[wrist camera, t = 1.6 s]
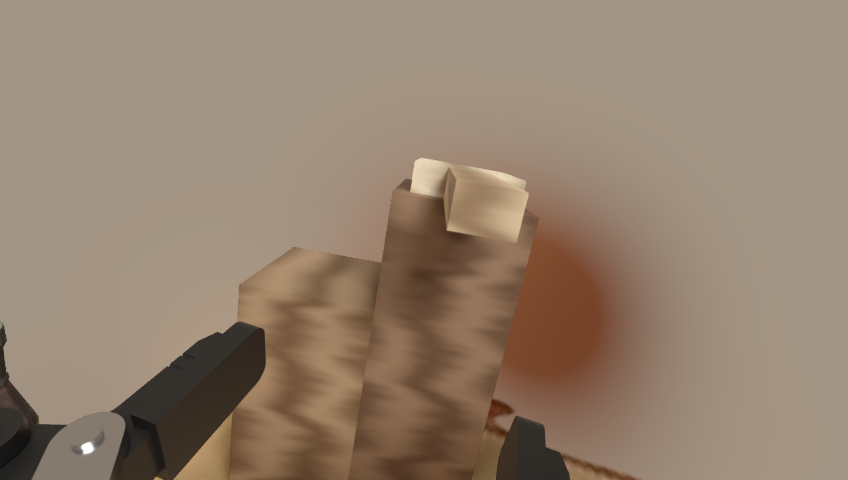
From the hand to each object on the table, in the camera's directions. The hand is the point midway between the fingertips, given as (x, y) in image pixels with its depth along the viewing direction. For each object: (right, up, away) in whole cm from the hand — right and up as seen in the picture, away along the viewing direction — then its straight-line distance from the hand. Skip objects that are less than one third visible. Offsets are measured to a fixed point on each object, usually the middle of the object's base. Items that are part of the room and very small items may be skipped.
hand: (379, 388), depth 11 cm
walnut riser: (-6, -21, +31) cm, 38 cm away
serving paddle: (+5, +8, +19) cm, 21 cm away
